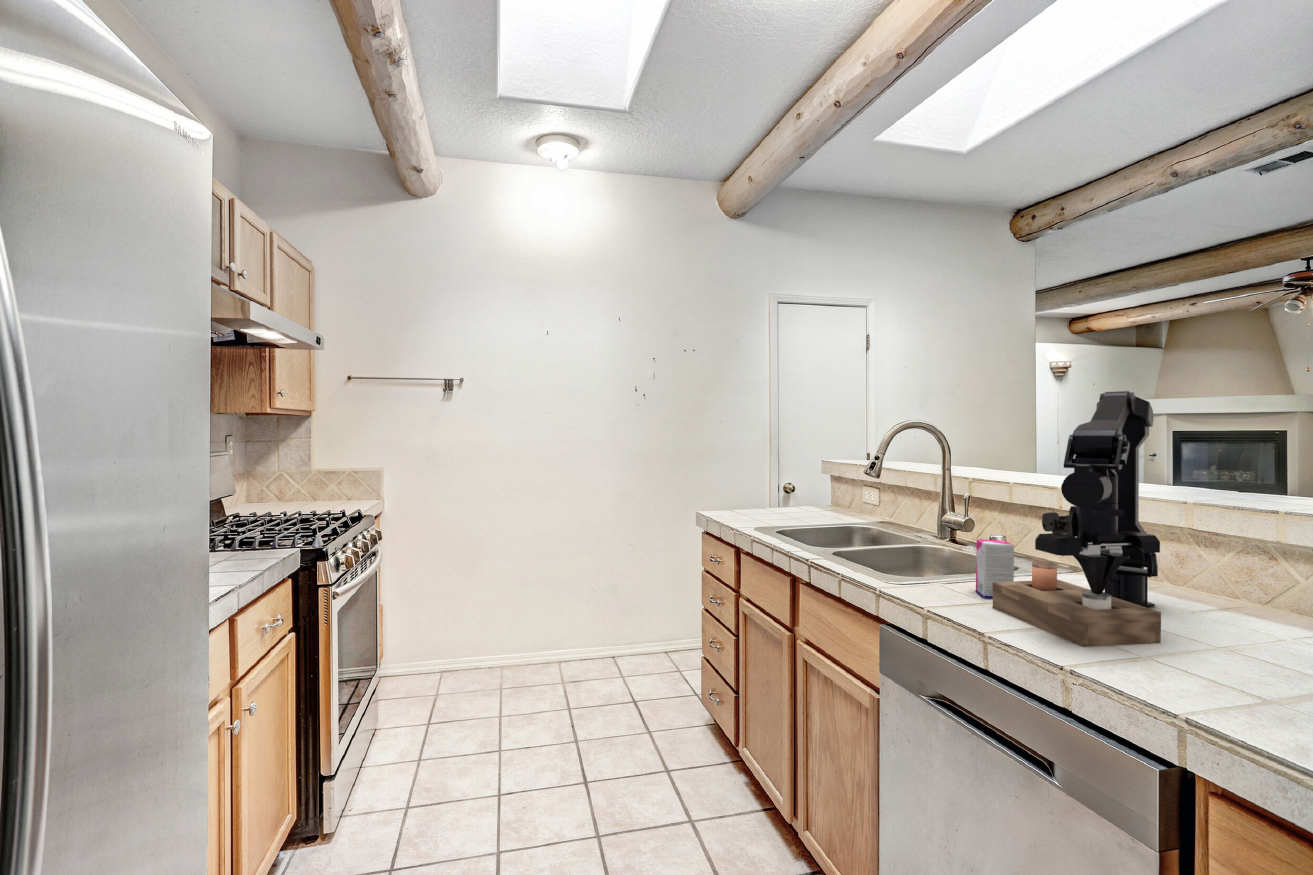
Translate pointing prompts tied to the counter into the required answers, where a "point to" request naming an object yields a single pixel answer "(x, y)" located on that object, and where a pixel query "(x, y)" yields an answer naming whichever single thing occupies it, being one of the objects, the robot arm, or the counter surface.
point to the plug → (1096, 600)
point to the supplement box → (993, 565)
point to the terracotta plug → (1044, 576)
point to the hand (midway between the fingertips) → (1096, 593)
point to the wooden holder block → (1077, 615)
